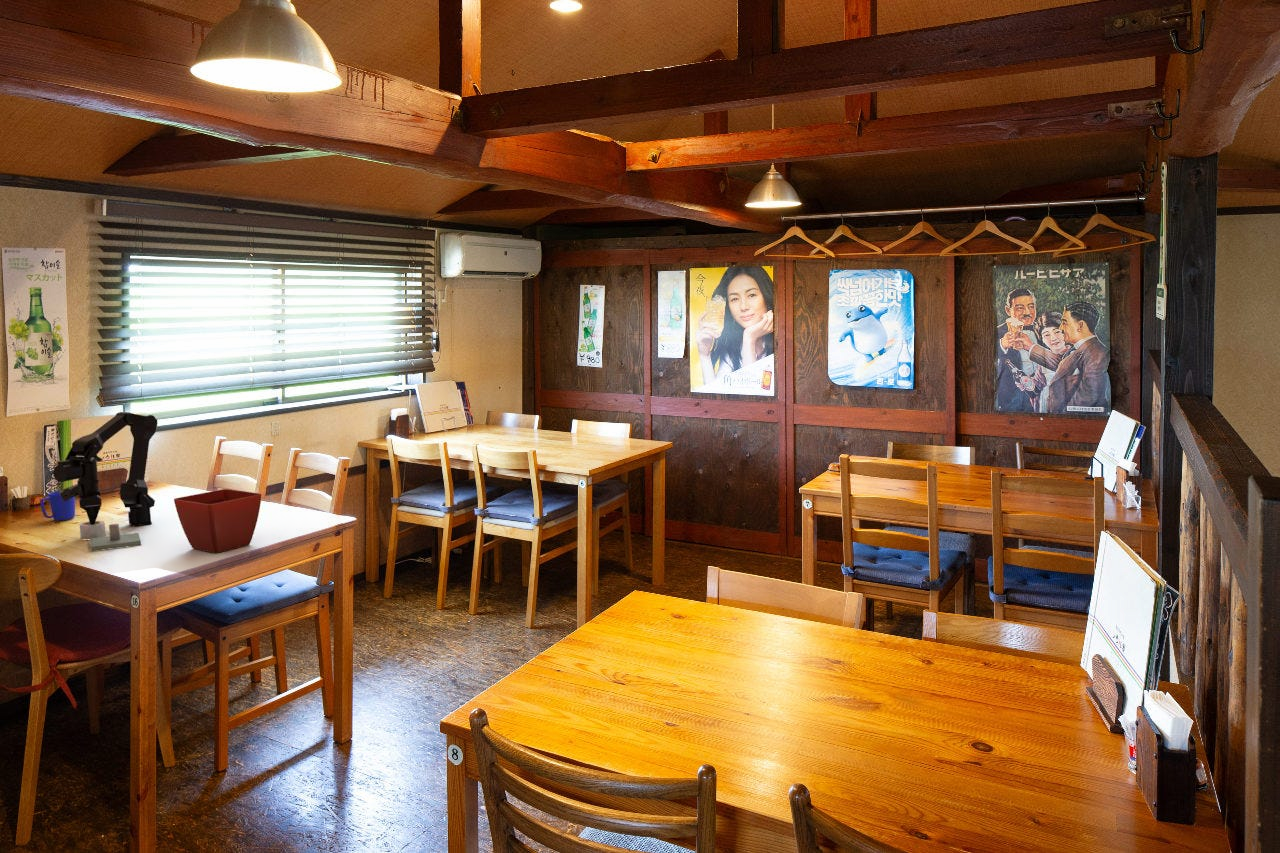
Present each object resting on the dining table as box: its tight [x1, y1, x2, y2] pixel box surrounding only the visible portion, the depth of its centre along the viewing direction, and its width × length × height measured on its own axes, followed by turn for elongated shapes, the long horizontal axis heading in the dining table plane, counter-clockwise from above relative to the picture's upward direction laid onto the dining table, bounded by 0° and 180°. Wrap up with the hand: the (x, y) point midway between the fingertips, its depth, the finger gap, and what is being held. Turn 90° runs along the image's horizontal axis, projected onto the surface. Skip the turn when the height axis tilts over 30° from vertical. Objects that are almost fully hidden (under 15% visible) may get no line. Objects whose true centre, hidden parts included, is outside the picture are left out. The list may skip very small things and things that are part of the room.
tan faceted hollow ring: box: [79, 520, 107, 540], centre depth 307 cm, size 7×7×5 cm
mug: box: [39, 490, 76, 521], centre depth 331 cm, size 8×12×10 cm
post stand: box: [89, 523, 142, 552], centre depth 298 cm, size 14×12×6 cm
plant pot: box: [173, 488, 262, 554], centre depth 293 cm, size 19×19×17 cm
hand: (92, 521), depth 306 cm, fingers open, 9 cm apart
